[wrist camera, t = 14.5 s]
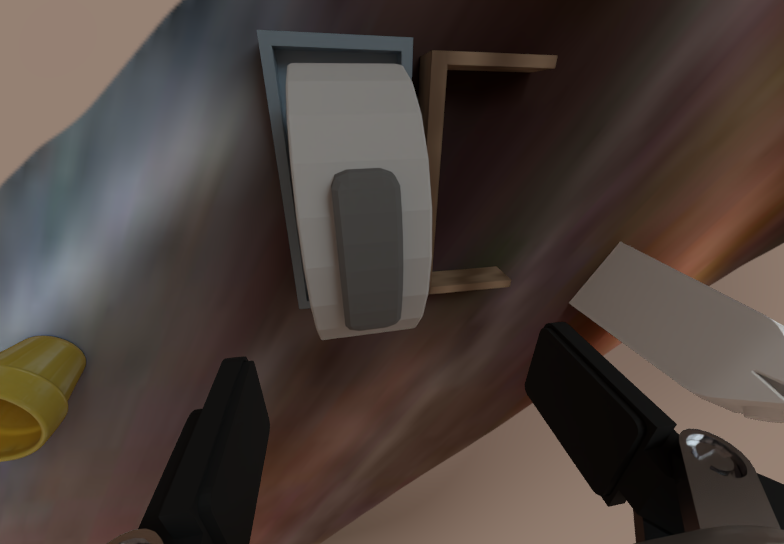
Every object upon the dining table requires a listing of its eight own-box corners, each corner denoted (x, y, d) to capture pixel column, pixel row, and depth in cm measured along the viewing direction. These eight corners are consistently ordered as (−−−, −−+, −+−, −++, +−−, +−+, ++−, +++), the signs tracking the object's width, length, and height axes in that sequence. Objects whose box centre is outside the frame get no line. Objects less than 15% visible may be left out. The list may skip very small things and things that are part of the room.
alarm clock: (298, 74, 29) (259, 23, 12) (378, 74, 30) (451, 28, 13) (324, 278, 39) (325, 414, 21) (384, 271, 40) (430, 396, 23)
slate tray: (405, 43, 30) (413, 37, 28) (399, 287, 43) (404, 299, 40) (262, 37, 28) (256, 29, 25) (300, 296, 40) (299, 309, 38)
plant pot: (84, 399, 41) (22, 475, 33) (-18, 367, 37) (-120, 446, 28) (121, 347, 39) (64, 414, 30) (17, 307, 35) (-84, 372, 26)
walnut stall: (533, 61, 33) (557, 55, 30) (495, 272, 44) (509, 286, 41) (420, 56, 31) (432, 50, 27) (411, 279, 42) (418, 295, 39)
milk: (664, 270, 51) (939, 401, 28) (613, 325, 54) (821, 480, 32) (620, 241, 46) (904, 369, 24) (568, 303, 50) (771, 464, 27)
